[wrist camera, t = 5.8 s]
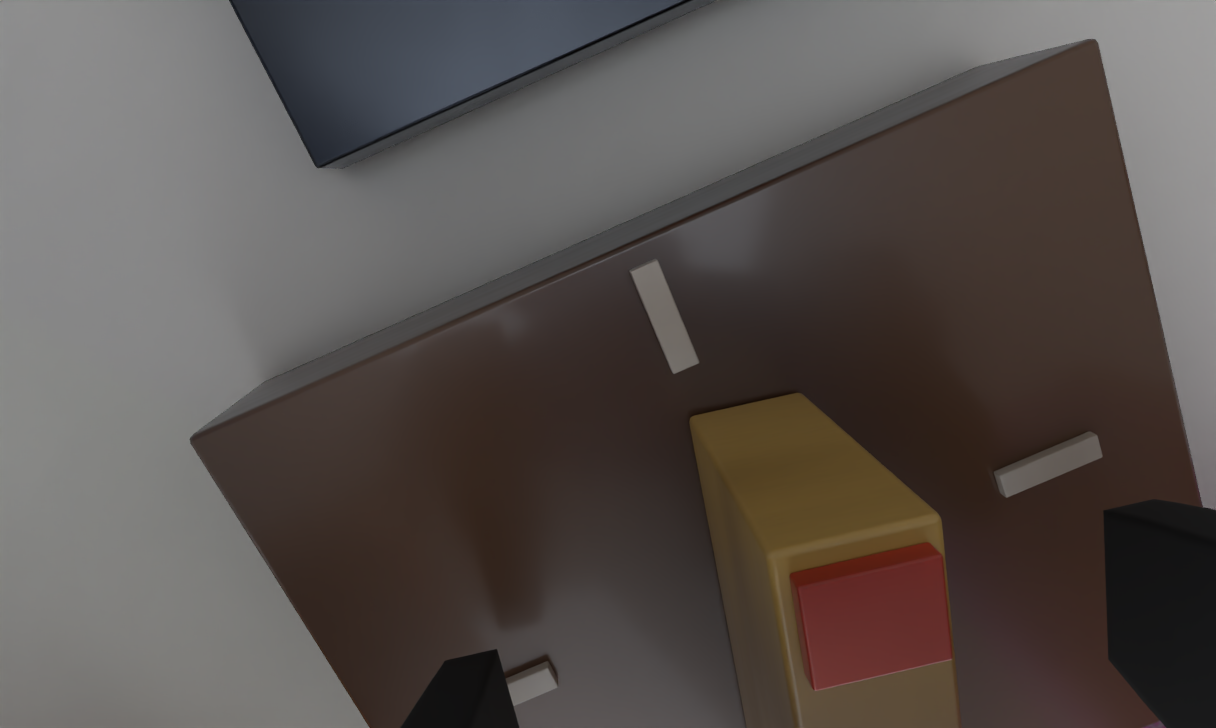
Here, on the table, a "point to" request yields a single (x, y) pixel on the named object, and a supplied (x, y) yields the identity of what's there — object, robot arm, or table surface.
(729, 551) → the lock handle
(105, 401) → the table surface
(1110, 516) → the robot arm
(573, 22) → the button block
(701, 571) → the panel
